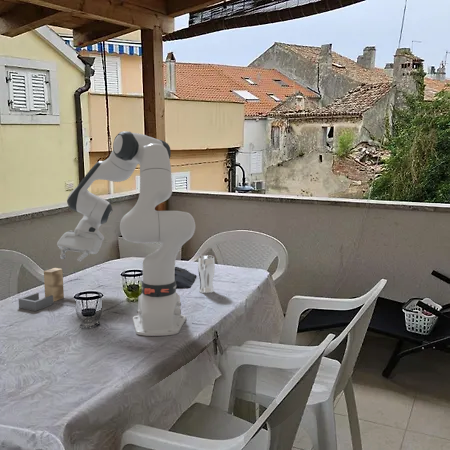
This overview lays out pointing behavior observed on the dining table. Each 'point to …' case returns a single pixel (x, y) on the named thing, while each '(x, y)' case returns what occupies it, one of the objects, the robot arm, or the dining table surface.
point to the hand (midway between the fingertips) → (70, 259)
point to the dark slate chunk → (184, 278)
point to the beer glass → (206, 273)
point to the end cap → (35, 302)
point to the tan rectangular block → (54, 283)
